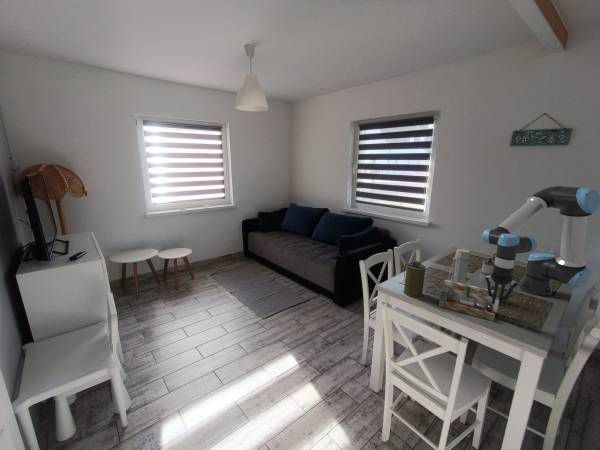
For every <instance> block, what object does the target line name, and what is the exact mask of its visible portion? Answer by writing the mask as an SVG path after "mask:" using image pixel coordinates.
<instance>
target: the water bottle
mask: <svg viewBox="0 0 600 450" xmlns="http://www.w3.org/2000/svg"><path fill="white" fill-rule="evenodd" d="M469 262H470V250H468V249H464V248H457V249H456V252H455V255H454V256H453V261H452V264H451V267H450V271H449V274H448V278H450V277H451V279H449V281H452V282H457V283H461V284H466V281H467V276H468V275H467V274H468V267H469Z"/></svg>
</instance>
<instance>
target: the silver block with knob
mask: <svg viewBox="0 0 600 450" xmlns="http://www.w3.org/2000/svg"><path fill="white" fill-rule="evenodd" d="M469 291H470V288H468V294H467V297H466V296H462V295H461V299H460V305H464V306H467V307H471V308H473V306H477V307H481V308H485V309H487V311H488V312H492V308H493V305H489V304H488V306H484V305H481V304H477V303H474V298H471V297H469Z"/></svg>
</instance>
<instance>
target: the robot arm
mask: <svg viewBox="0 0 600 450" xmlns="http://www.w3.org/2000/svg"><path fill="white" fill-rule="evenodd" d="M547 209H559V215H561V216H562V217H563V219H562V226H561V227H562V229H561V241H560V252H559V257H557V255H555V254H552V253H551V254H550V253H542V252H535V253H531V254H529V256H528V259H527V264H526V268H525V273H524V276H523V278H521V280H520V282H519V283H518V282H517V281H516V280H514V279H513V274H514V273H513V272H514V267H515V263H516V257H517V254H525V253H530V252H533V251H535V250H536V249H537V247H538V243H537V240H536V239H535V238H533V237H532V236H525V235H524V236H520V235H517V234H515V233H516V232H518V230H519V229H521V228H522V227H524V225H526V224H527V223H528V222H530V221H531V220H532V219H533V218H534V217H535V216H537V215H538V214H539V213H540V212H544V211H546V210H547ZM599 209H600V192H599V191H598V190H597V189H596V188H592V187H591V188H589V187H583V186H579V187H576V186H562V185H556V186H549V187H547V188H546V187H545V188H542V189H541V190H539V191H537V192H535V193H533V194H532V195H531V196H529V197H528V198H527V199H526V202H525V203H524V204H523V205H522V206H521V207H519V208H518V209H517V210H516V211H514V212H513V213H512V214H511V215H510V216H509V217H507V218H505V220H503V221H502V222H501V223H500V224H499V225H498V226H496V227H495V228H494V229H492V228H491V229H490V228H488V229H485V230H484V231H483V232H482V235H481V239H482V241H483V242H484V243H487V244H489V245H493V246H496V248H497V249H496V252H495V258H494V263H493V268H492V272H491V273H490V275H485V276H484V279H485V281H486V284H487V289H488V294H489V296H491V297H492V304H494V307H493V311H494V313H498V308H499V307H501V306H502V304H503V301H507V300H508V299H509V297H510V295H511V294H512V292H513V290H514V289H515V287H517V286H518V288H519V289H520V290H521V291H523V292H526V293H527V294H532V295H536V296H542V297H550V296H552V293H553V288H552V287H553V286H552V282H551V280H553V281H556V282H557V283H558V282H559V283H562V284H565V285H567V286H571V287H575V288H580V287H583V286H584V285H585V284H587V282H588V281H589V280H590V278H591V277H592V273H593V272H592V269H591V268H589V267H587V261H585V260H584V250H585V243H586V235H587V224H588V218H589V217H591V216H593V214H594V213H596V212H597V211H599ZM491 280H493V282H494V287H493V291H494V292H493V294H492V293H491V290H492V286H491ZM508 284H510V285H509V287H508V288H507V291H506V292H505V288H506V285H508ZM499 285H501V286H500V289H499ZM498 289H499V296H498ZM496 295H497V297H496Z"/></svg>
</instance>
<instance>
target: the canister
mask: <svg viewBox="0 0 600 450" xmlns="http://www.w3.org/2000/svg"><path fill="white" fill-rule="evenodd" d="M404 269H405V272H404V274H403V279H404V286H403V287H404V288H403V294H404V295H405V296H407V297H410V298H414V299H419V298H422V297H423V296H424V294H423V292H424V291H423V290H424V283H425V276H426V275H425V274H426V269H427V266H425V265H424V264H423V263H422V261H419V260H415V259H414V261H413V262H406V263H405V265H404Z"/></svg>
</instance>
